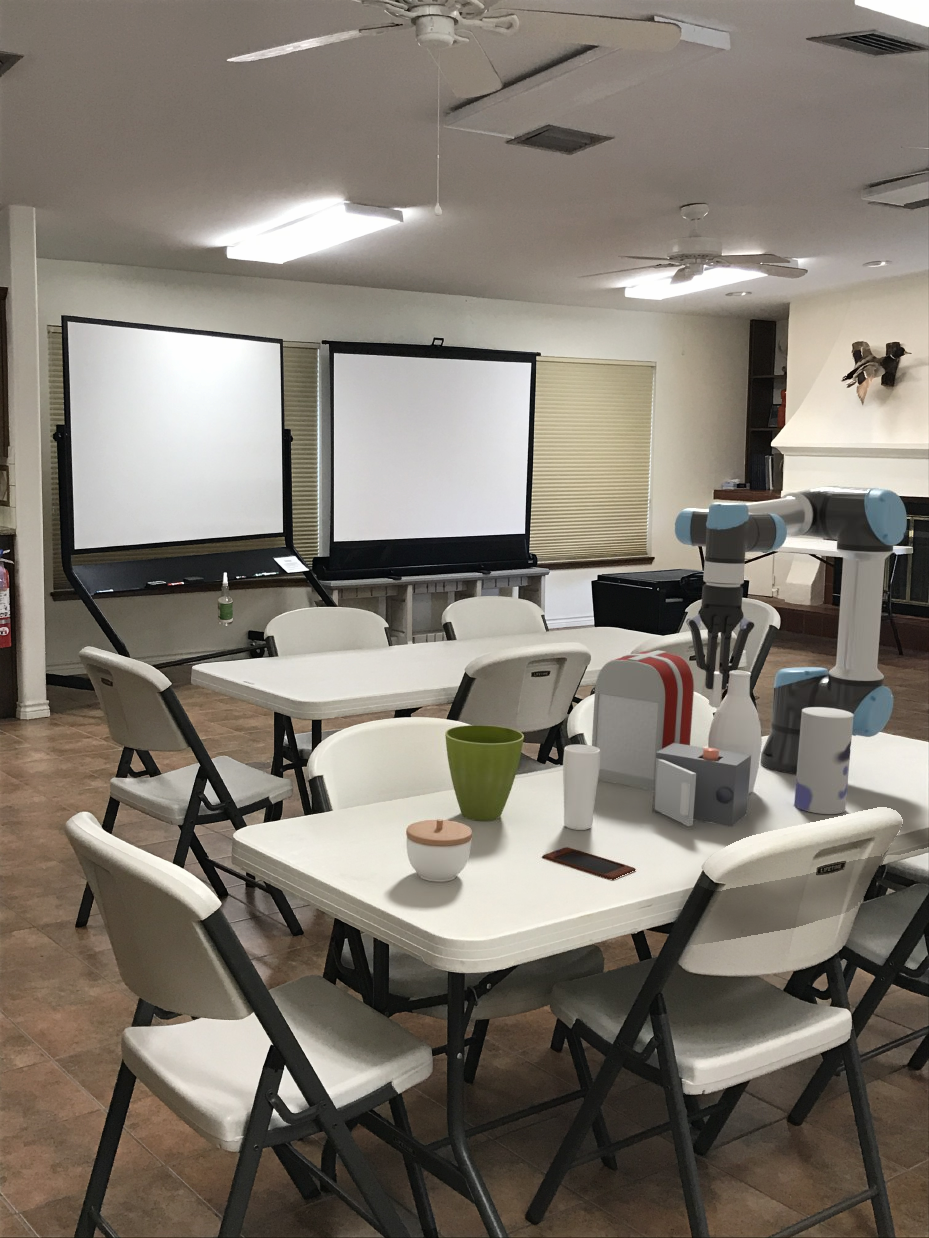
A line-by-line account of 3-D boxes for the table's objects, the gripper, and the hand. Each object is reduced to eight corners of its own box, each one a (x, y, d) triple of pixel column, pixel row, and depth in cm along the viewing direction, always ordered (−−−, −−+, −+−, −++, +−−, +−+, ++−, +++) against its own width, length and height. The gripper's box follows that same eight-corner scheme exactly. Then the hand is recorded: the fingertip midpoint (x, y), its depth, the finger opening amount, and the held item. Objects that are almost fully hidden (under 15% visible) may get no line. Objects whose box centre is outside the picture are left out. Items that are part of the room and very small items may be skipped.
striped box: (690, 774, 264) (698, 654, 261) (658, 791, 250) (666, 664, 246) (622, 761, 273) (629, 645, 270) (587, 777, 258) (594, 654, 255)
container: (847, 817, 237) (856, 718, 234) (795, 812, 239) (803, 714, 236) (842, 803, 246) (850, 708, 244) (792, 798, 248) (800, 704, 246)
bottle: (700, 792, 250) (708, 673, 247) (709, 779, 261) (718, 665, 257) (753, 799, 246) (763, 679, 243) (761, 786, 257) (770, 670, 253)
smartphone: (566, 845, 210) (637, 867, 200) (565, 850, 210) (636, 872, 200) (541, 854, 205) (612, 877, 195) (540, 859, 205) (612, 883, 195)
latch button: (705, 759, 233) (706, 747, 233) (720, 761, 232) (721, 749, 231) (700, 762, 231) (701, 749, 230) (715, 765, 229) (716, 752, 229)
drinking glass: (599, 824, 225) (604, 746, 223) (591, 834, 219) (596, 754, 217) (564, 819, 227) (569, 742, 225) (555, 829, 221) (560, 750, 219)
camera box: (669, 800, 243) (673, 742, 242) (746, 814, 236) (751, 755, 234) (650, 812, 234) (654, 753, 232) (730, 828, 226) (734, 766, 225)
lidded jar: (403, 863, 199) (405, 809, 198) (467, 864, 200) (469, 810, 199) (405, 886, 188) (407, 829, 187) (473, 887, 189) (475, 830, 188)
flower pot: (505, 832, 218) (509, 747, 216) (430, 820, 223) (433, 737, 221) (529, 810, 232) (533, 730, 230) (458, 800, 237) (461, 721, 235)
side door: (656, 807, 234) (659, 758, 233) (692, 825, 224) (696, 773, 222) (648, 808, 233) (652, 758, 232) (684, 826, 223) (688, 774, 221)
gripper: (750, 583, 230) (742, 702, 234) (684, 581, 230) (676, 700, 233) (762, 587, 223) (753, 710, 226) (694, 585, 222) (685, 709, 225)
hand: (714, 705), depth 230 cm, fingers closed
